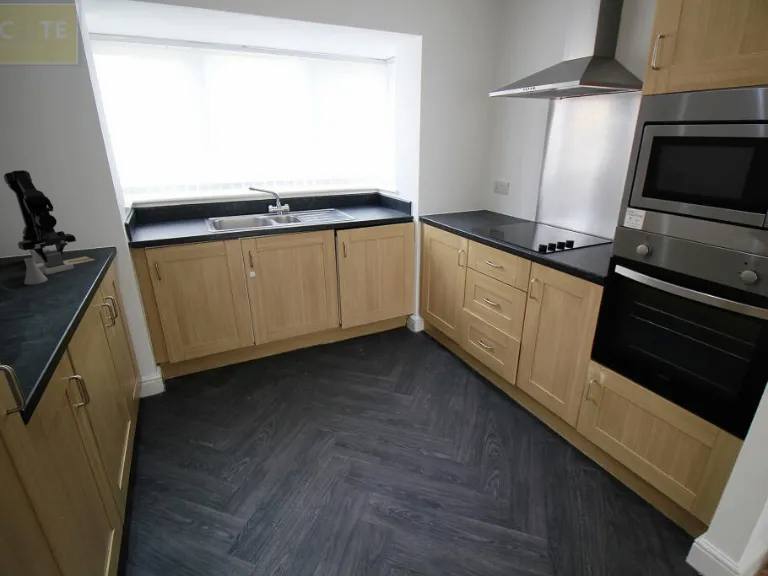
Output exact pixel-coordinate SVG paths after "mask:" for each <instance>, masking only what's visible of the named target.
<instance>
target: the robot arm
mask: <svg viewBox="0 0 768 576" xmlns="http://www.w3.org/2000/svg"><path fill="white" fill-rule="evenodd" d="M30 173H31V172H28V171H27V170H24V169H22V170H13V171H10V172H6V173H5V174H4V175H3V179H4V182H5V184H6V185H8V188H9V189H10V190H11V191H13V193H14V194H15V197H16V200H17V203H18V207H19V210H20V213H21V216H22V220H23V223H24V228H23V230H22V234H23V235H22V240H21V241H18V243H17V246H18V249H19V250H23V251H28V250H29V252H30V255H31V258H33V257H32V254H31V251H30V250H34V251H35V252H36V253H37V254H38V255H39V256H40V257H41V258H42V260H43V261H44V262H45V263H47V260H46V257H45V255H44V253H43V248H46V247H49V246H55V250H56V251H59V252H61V255H62V256H63V254H64V253H63V252H64V250H65V249H64V248H65V247H66V246H68V245H69V244H68V243H74V242H77V238H76V236H75V235H74V234H70V233H65V231H63V230H61V231H57V232H56V230H55V228H54V227H56V225H57V219H56V218H55V216H53V215H52V214H50V212H54V205H53V204H52V202H51V199H49V197H48V196H46V195H45V194H44V192H43V191H41V190H38V189H37V187H35V185H34V183H33V180H32V177H31V174H30Z"/></svg>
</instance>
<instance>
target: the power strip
mask: <svg viewBox="0 0 768 576" xmlns="http://www.w3.org/2000/svg"><path fill="white" fill-rule="evenodd" d="M24 262H25V261H24ZM63 262H64V265H62V266H57V267H52V268H48V267H46V266H45V265H44V261H43V263H36V262H35V263H36V265H37V267H38V268H39V269H40V271H41V272H42V273H43V274H44V275H51V274H55V273H60V272H65V271H69V270H73V269H74V268H75V267H74V264H71V263H69V262H66V261H65V260H63ZM25 264H26V262H25Z"/></svg>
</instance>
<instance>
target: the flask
mask: <svg viewBox="0 0 768 576" xmlns="http://www.w3.org/2000/svg"><path fill="white" fill-rule="evenodd" d="M23 261H24V262H26V263H25V266H26V271H25V276H24V277H25V278H24V285H38V284H41V283H45V282H48V280H49V278H48V277H47V276H46V274H44V273H42V272H41V271H40V269H39V268H38V267H37V265H36V263H35V258H32V257H27V258H24V259H23Z"/></svg>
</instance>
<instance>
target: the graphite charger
mask: <svg viewBox="0 0 768 576" xmlns="http://www.w3.org/2000/svg"><path fill="white" fill-rule="evenodd" d="M43 253H44V255H45V257H46V260H47V263H45V262H44V265H45V266H46V267H48V268H52V267H57V266H62V265H64V262H63V261H64V259H63V254H62V255H61V252H59V251H57V250H56V249H52V250H50V251H47V252H43Z"/></svg>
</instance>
